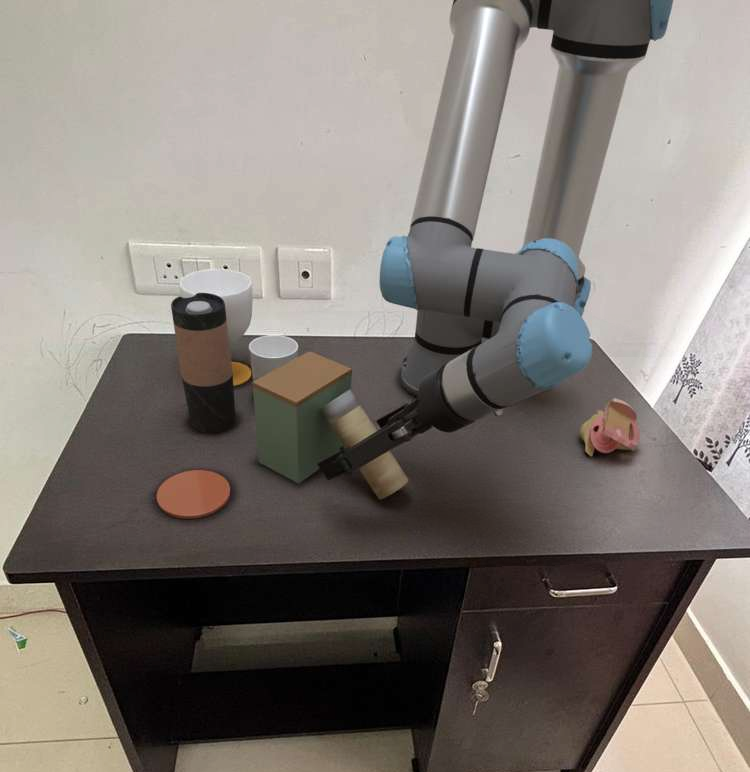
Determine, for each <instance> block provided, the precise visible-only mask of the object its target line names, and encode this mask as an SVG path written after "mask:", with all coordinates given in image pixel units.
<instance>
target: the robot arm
mask: <svg viewBox="0 0 750 772" xmlns="http://www.w3.org/2000/svg"><path fill="white" fill-rule="evenodd" d="M673 3H674V0H453V1H452V5H451V9H450V10H451V11H450V14H449V28H450V31H451V34H452V36H453V38H452V43H451V47H450V48H451V49H450V51H449V56H448V61H447V65H446V69H445V74H444V78H443V82H442V87H441V91H440V95H439V99H438V102H437V103H438V104H437V108H436V113H435V118H434V121H433V126H432V129H431V134H430V138H429V143H428V146H427V151H426V156H425V159H424V164H423V168H422V173H421V177H420V181H419V185H418V191H417V194H416V199H415V203H414V208H413V212H412V216H411V220H410V227H409V230H408V231H409V232H408V234H407V236H406V235H401V236H395V235H394V236H392V237H390V238H389V239H388V240H387V242H386V243H385V248H384V249H383V252H382V255H381V260H380V267H379V280H378V281H379V290H380V293H381V297H382V298H383V299H384V300H385V301H386V302H387V303H389V304H392V305H397V306H401V307H405V308H410V309H414V310H415V311H417V312H416V322H415V332H414V339H413V342H412V344H411V347H410V349H409V350H408V353H407V356H406V357H405V358H404V359H403V361H402V364H401V365H402V367H401V369H400V384H401V385H402V387H403V388H404V389H405V391H407V392H408V393H409V394H411V395H412V396H414V397H416V398H413V399H411V401H410V402H408V403H407V402H406V403H405V404H404V405H402V406H401V405H400V407H398V408H396V409H394V410H393V411H390V412H388V413H387V414H385V415H383V416H382V417H380V418H378V419H377V420H376V421H375V422H376V423H377V425H378V427H379V429H377V431H376V432H374V433H373V434H371V435H370V436H368V437H366V438H365V439H363V440H362V441H360V442H358V443H357V444H355V445H354V446H352V447H351V448H349V447H347V448H345V446H344V445H343V446H341V447H340V448H339V449H340V450H341V451H339V452H338V453H336V454H334V455H332V456H330V457H328V458H326V459H324V460H323V461H321V462H319V463H318V466H319V468H320V469H319V470H320V471H321V472H322V473H323V475H324V476H325V478H326V480H327V481H328V482H329V481H331V480H333V479H335V478H337V477H339V476H341V475H344V474H346V475H347V476H348V475H352V474H353V473H354V472H355V471H357V470H359V468H360V467H362V466H364V465H365V464H367V463H369V462H371V461H372V460H374V459H376V458H377V457H379V456H381V455H383V454H384V453H386V452H388V451H389V450H390V451H391V450H393V449H395V448H396V447H398V446H400V445H402V444H405V443H408V442H409V441H411V440H412V439H413V438H414V437H416V436H418V435H423V434H424V433H426V432H427V431H429V430H430V429H432V428H435V429H436V430H438V431H440V432H443V433H454V432H457V431H458V430H461V429H463V428H466V427H467V426H469V425H472V424H474V423H475V422H476V421H480V420H482V419H483V418H486V417H488V416H489V415H491V414H492V413H493V415H494V416H495V417H501V416H502V414H503V409H506V408H507V407H510V406H513V405H515V404H517V403H519V402H522V401H524V400H526V399H528V398H530V397H532V396H535V395H537V394H540V393H541V392H544V391H545V390H549V389H552V388H556V387H558V386H559V385H560V384H562V383H564V381H565V380H569V378H571V377H573V376H575V375H577V374H579V373H581V372H582V371H584V370H585V369H586V367H587V366H588V365H589V364H590V361H591V360H592V355H593V344H592V341H591V340H590V337H591V333H590V330H589V328H588V325H587V323H586V321H585V319H584V318H583V315H584V312H585V307H586V305H587V302H588V300H589V297H590V293H591V289H592V282H591V280H590V279H588V278H587V277H586V276H585V274H586V266H585V264H584V263H583V261H582V260H581V258H580V255H581V254H580V253H581V250H582V246H583V243H584V239H585V234H586V231H587V227H588V224H589V220H590V217H591V213H592V209H593V205H594V201H595V197H596V194H597V191H598V187H599V183H600V179H601V176H602V172H603V168H604V164H605V161H606V157H607V153H608V149H609V146H610V142H611V139H612V135H613V130H614V127H615V123H616V120H617V116H618V111H619V108H620V105H621V101H622V97H623V93H624V89H625V86H626V83H627V82H626V81H627V79H628V75H629V73H630V71H631V70H632V69H633V68H635V67H636V66H637V65H638V64H639V63H641V62H642V61H643V60H644V59H645V58H646V56H647V53H648V49H649V45H650V41H654V42H656V41H657V40H662V39H663V38H664V36H665V35H666V33H667V30H668V25H669V20H670V15H671V13H672V8H673V5H674V4H673ZM533 28H536V29H538V30H548V31H549V30H550V31H552V37H551V43H550V51H551V53H552V54H553V57H554V58H555V60H556V62H557V64H558V69H557V74H556V79H555V85H554V89H553V94H552V99H551V104H550V108H549V114H548V118H547V124H546V129H545V134H544V139H543V144H542V148H541V154H540V158H539V162H538V163H539V164H538V168H537V169H538V170H537V173H536V177H535V184H534V188H533V192H532V193H533V194H532V198H531V203H530V208H529V212H528V213H529V214H528V217H527V223H526V228H525V233H524V237H523V243H522V247H521V248H520V249H519V250H517V251H516V252H515V253H513V252H512V253H511V252H504V251H499V250H490V249H484V248H480V247H479V248H477V247H472V245H473V241H474V240H475V239H474V238H475V234H476V229H477V226H478V222H479V217H480V212H481V207H482V204H483V199H484V194H485V191H486V185H487V182H488V176H489V172H490V167H491V163H492V158H493V155H494V151H495V146H496V141H497V138H498V133H499V129H500V124H501V120H502V115H503V109H504V106H505V101H506V96H507V92H508V88H509V85H510V79H511V74H512V70H513V66H514V62H515V57H516V54H517V53H516V52H517V50H519V49H520V48H521V47H522V46H523V45H524V44H525V42H526V41H527V39H528V37H529V33H530V31H531V30H530V29H533ZM483 339H486V340H485V341H484V342H482V340H483Z"/></svg>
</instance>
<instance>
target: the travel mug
mask: <svg viewBox="0 0 750 772" xmlns="http://www.w3.org/2000/svg"><path fill="white" fill-rule="evenodd" d="M170 309H171V316H172V323H173V329H174V336H175V343H176V349H177V354H178V362H179V369H180V375H181V381H182V385H183V386H182V387H183V391H184V396H185V401H186V406H187V412H188V417H189V420H190V425H191V427H192V428H193V429H194V430H196V431H198V432H200V433H203V434H204V433H205V434H218V433H223V432H225V431H228V430H229V429H231V428H232V427H233V426H234V425H235V424H236V403H235V386H233V372H232V363H231V361H232V355H231V347H230V343H229V336H228V327H227V319H226V309H225V303H224V300H223V299H222V298H221V297H219V296H217V295H214V294H210V293H197V294H196V295H195V296H193V297H189V298H183V297H181V295H179V296H177V297H175V298H174V299H173V300H172V301H171V303H170Z"/></svg>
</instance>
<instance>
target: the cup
mask: <svg viewBox="0 0 750 772" xmlns="http://www.w3.org/2000/svg"><path fill="white" fill-rule="evenodd" d="M178 285H179V287H178V289H179V292H180V296H181V297H183V298H189V297H193V296H195V295H196V294H197V293H210V294H214V295H217V296H219V297H221V298H222V299H223V300H224V303H225V309H226V319H227V327H228V336H229V344H230V343H234V342H237V341H238V340H240V339H241V338H243V336H244V335H245V334H246V332H247V331H248V329H249V327H250V326H251V321H252V317H253V304H254V303H253V302H254V300H253V299H254V298H253V297H254V295H253V294H254V293H253V279H252V278H251V277H250V276H248V275H247V274H246V273H245V272H241V271H238V270H235V269H228V268H208V269H207V268H206V269H201V270H196V271H193V272H191V273H188V274H186V275H184V276H183V277H182V278H181V279H180V280H179V284H178ZM231 363H232V372H233V386H234V387H237V386H241V385H243V384H244V383H246V382H248V381H249V380H250V378H251V377H252V369H251V368H250V367H249V366H248V365H246V364H243V363H241V362H237V361H232V360H231Z"/></svg>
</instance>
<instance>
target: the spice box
mask: <svg viewBox="0 0 750 772" xmlns="http://www.w3.org/2000/svg"><path fill="white" fill-rule="evenodd" d="M352 375H353V368H352V367H349V366H346V365H344V364H341V363H339V362H338V361H334V360H333V359H329V358H327V357H325V356H323V355H320V354H317V353H315V352H314V351H306V352H305V353H303V354H301V355H300V356H299V355H298V358H296V359H294V360H292V361H290V362H288V363H286V364H285V365H283V366H281V367H279V368H277V369H275V370H274V371H272V372H270V373H268V374H266V375H264V376H262V377H261V378H259V379H257V380H255V381H252V383H251V386H252V396H253V407H254V408H253V410H254V421H255V433H256V445H257V458H258V459H257V460H258V463H259V464H261V465H263V466H265V467H266V468H269V469H271V470H272V471H274V472H276V473H278V474H280V475H281V476H283V477H285V478H288V479H289V480H291V481H293V482H294V483H296V484H300V483H302V482H303V481H305V480H306V479H308V478H309V477H310V476H312V475H313V474H314V473H316V472H317V471H318V470H321V469H320V468H319V466H318V463H319V462H321V461H323V460H324V459H326V458H328V457H330V456H332V455H334V454H336V453H338V452H339V451H341V450H340V449H339V448H340V447H341V446H343V443H342V442H341V440H340V439H339V437H338V436H337V434H336V433H335V431H334V430H333V428H332V427H331V425H330V424H329V422H328V421H327V419H326V417H325V416H324V414H323V413H322V411H321V410H320V409H321V408H322V407H324V406H325V405H327V404H328V403H330V402H331V401H333V400H334V399H336V398H337V397H339V396H340V395H342V394H344V393H345V392H347V391H348V390H350V389H351V390H352V379H353V377H352Z"/></svg>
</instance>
